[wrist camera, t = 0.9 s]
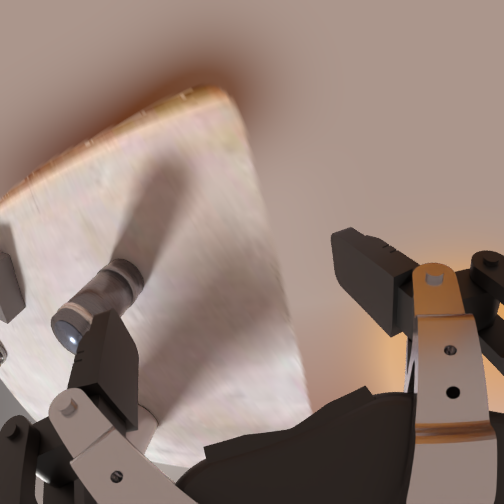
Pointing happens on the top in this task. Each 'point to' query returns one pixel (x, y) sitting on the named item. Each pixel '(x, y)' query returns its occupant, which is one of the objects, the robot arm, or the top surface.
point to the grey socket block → (9, 290)
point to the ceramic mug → (1, 349)
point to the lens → (97, 301)
